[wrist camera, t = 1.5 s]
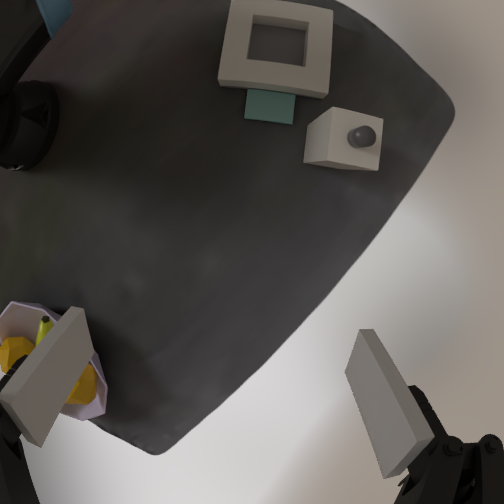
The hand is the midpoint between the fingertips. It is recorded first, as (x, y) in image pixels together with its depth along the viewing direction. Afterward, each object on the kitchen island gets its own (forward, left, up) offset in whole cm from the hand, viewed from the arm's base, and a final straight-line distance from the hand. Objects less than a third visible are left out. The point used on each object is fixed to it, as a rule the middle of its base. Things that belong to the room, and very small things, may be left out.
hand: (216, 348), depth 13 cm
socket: (-13, +19, -26) cm, 35 cm away
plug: (0, +15, -26) cm, 30 cm away
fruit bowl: (-7, -43, -26) cm, 51 cm away
